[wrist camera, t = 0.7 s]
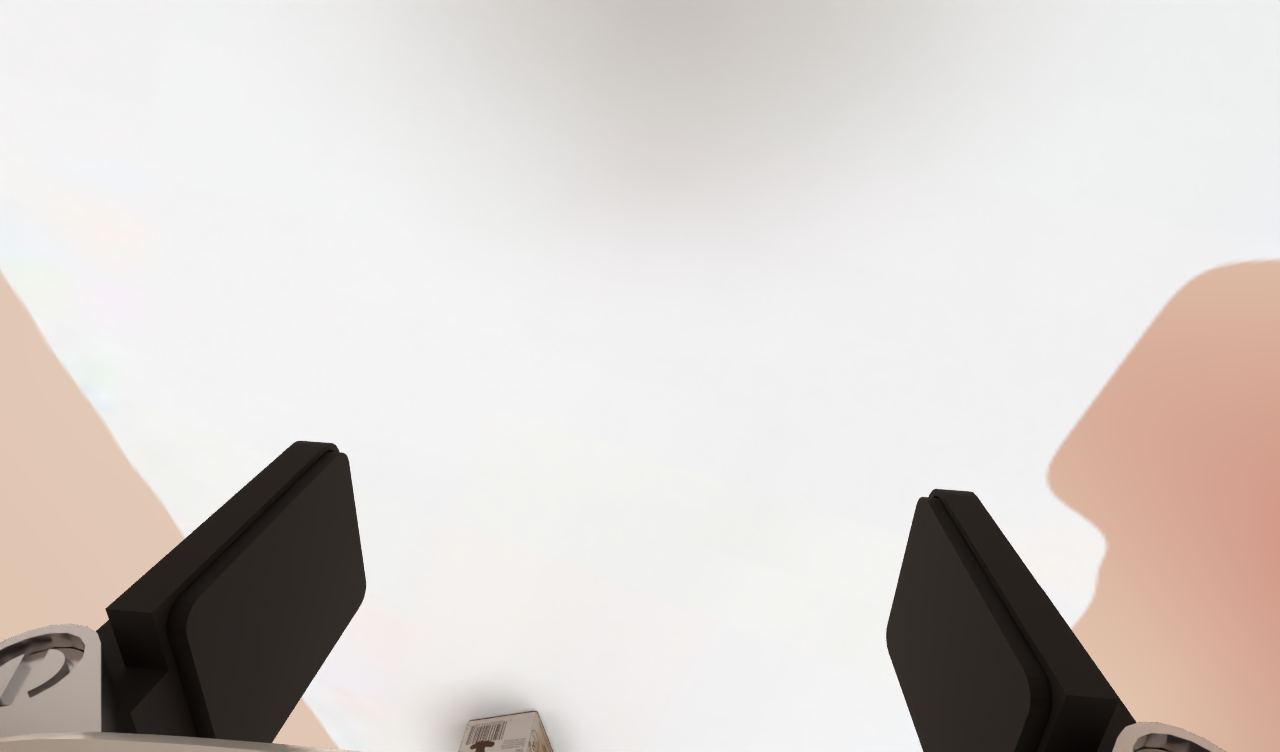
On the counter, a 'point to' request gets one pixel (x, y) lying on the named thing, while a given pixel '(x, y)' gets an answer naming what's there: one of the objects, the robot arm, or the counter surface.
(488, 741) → the coffee box
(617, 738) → the counter surface
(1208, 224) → the counter surface
